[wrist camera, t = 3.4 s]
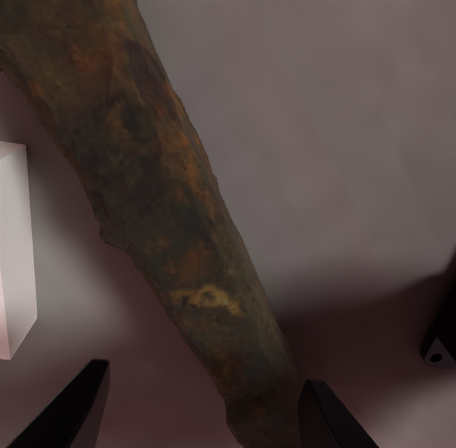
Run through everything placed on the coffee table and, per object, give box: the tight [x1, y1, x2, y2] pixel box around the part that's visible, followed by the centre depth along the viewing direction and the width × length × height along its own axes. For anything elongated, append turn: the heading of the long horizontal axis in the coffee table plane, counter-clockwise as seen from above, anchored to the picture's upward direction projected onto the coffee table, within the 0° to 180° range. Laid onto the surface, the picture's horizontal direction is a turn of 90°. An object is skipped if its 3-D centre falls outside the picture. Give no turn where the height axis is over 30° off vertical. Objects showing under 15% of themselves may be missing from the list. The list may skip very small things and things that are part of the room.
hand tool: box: [0, 0, 302, 448], centre depth 12 cm, size 19×4×5 cm, turn 21°
